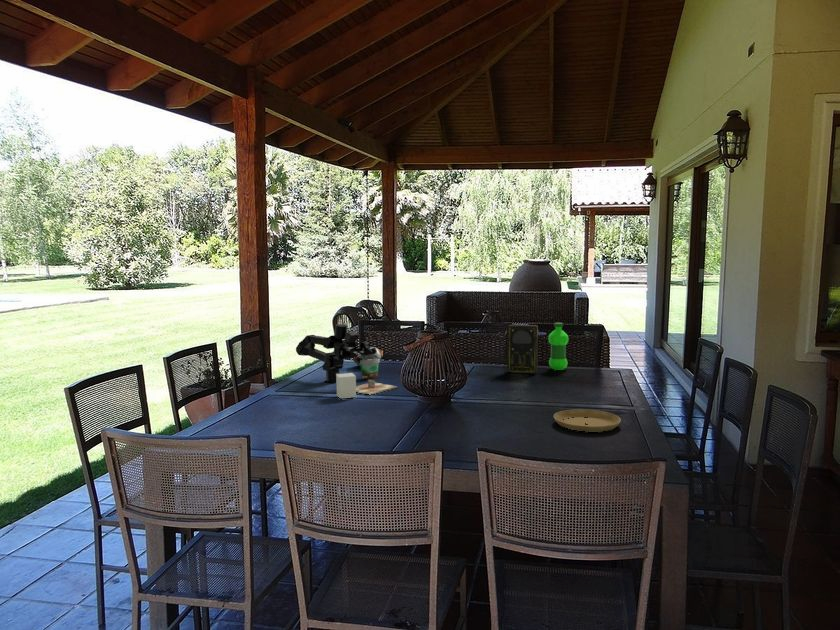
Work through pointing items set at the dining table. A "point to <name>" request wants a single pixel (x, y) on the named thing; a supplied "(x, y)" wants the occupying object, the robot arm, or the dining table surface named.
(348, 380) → the block
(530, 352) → the voltmeter
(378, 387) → the header board
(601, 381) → the dining table surface
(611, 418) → the plant saucer
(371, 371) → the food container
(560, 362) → the plastic bottle
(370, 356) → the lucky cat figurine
